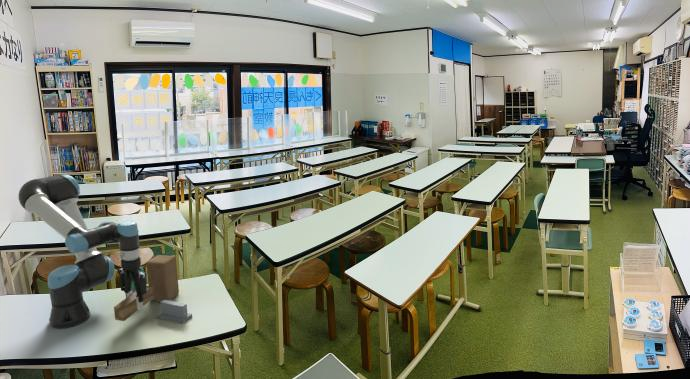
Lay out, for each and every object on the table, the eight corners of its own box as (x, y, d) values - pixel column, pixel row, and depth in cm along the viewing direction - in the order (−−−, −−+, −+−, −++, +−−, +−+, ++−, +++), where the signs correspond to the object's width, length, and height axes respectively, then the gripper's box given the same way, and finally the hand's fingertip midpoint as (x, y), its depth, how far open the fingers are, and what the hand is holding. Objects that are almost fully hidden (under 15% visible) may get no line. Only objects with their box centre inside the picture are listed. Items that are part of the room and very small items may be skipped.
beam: (115, 319, 180) (113, 306, 178) (146, 297, 199) (145, 285, 197) (123, 321, 179) (122, 308, 178) (153, 298, 198) (152, 286, 197)
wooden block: (168, 302, 205) (164, 263, 200) (149, 300, 207) (145, 261, 202) (179, 293, 214) (176, 255, 210) (161, 291, 216) (158, 253, 212)
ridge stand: (157, 317, 191) (155, 303, 190) (166, 311, 197) (165, 297, 195) (183, 323, 187) (181, 308, 185) (192, 316, 192) (191, 302, 191)
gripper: (107, 257, 182) (112, 307, 188) (140, 264, 177) (144, 315, 183) (121, 251, 189) (126, 299, 195) (153, 257, 184) (157, 307, 189)
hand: (135, 306), depth 189 cm, fingers closed on beam, 4 cm apart
